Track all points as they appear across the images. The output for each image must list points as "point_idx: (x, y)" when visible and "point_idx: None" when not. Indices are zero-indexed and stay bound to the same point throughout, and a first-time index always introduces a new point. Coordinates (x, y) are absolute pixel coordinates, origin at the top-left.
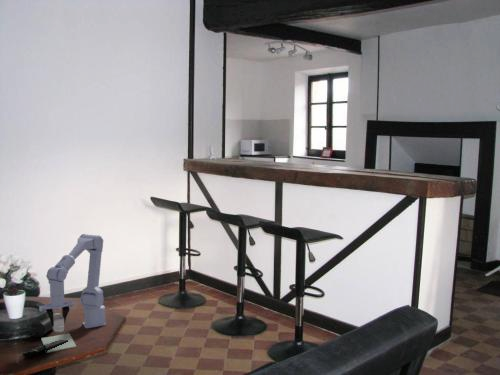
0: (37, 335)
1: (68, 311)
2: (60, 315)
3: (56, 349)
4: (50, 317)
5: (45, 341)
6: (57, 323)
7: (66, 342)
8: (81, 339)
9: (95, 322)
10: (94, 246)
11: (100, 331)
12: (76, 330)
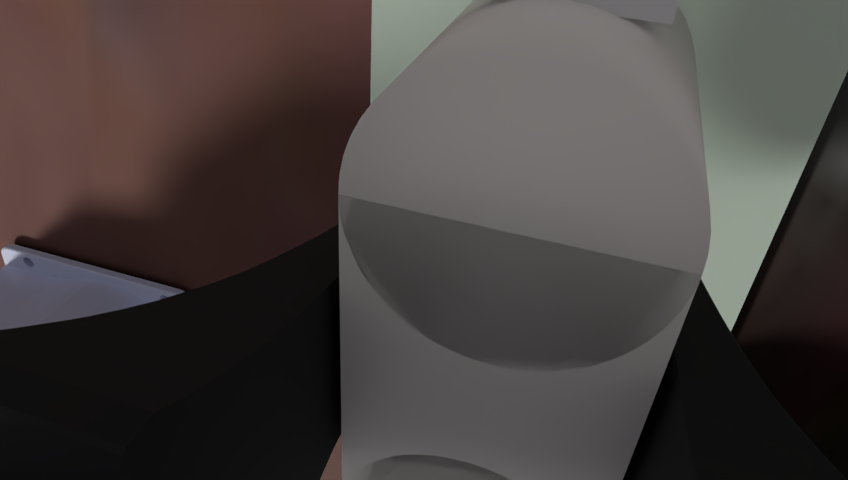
0: None
1: (33, 328)
2: (384, 450)
3: None
4: (801, 458)
5: (725, 244)
6: (643, 56)
7: None
8: (265, 28)
9: (65, 301)
10: None
11: (49, 129)
12: None
